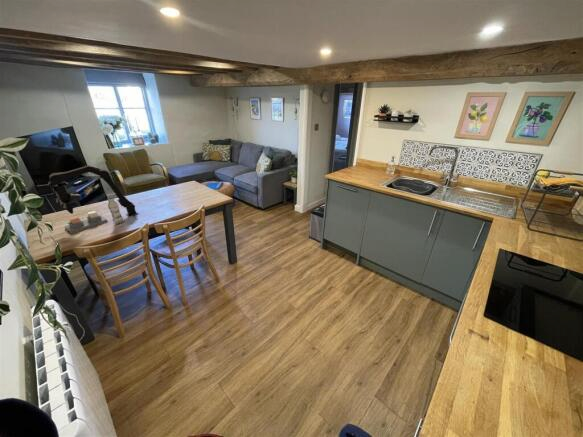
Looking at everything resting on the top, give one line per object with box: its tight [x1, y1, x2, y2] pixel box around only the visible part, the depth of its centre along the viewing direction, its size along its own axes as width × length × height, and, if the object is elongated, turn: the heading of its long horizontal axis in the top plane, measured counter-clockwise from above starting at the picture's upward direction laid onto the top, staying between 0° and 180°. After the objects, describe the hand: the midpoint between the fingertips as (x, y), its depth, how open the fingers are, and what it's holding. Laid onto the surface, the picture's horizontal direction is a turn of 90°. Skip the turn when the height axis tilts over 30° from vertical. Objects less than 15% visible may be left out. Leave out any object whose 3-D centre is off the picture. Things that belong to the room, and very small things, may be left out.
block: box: [64, 214, 109, 234], centre depth 173 cm, size 12×22×5 cm, turn 147°
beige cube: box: [87, 210, 99, 218], centre depth 175 cm, size 4×4×4 cm
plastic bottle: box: [107, 197, 124, 225], centre depth 174 cm, size 6×7×20 cm
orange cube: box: [68, 215, 81, 224], centre depth 167 cm, size 4×4×4 cm
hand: (71, 213), depth 165 cm, fingers open, 2 cm apart
